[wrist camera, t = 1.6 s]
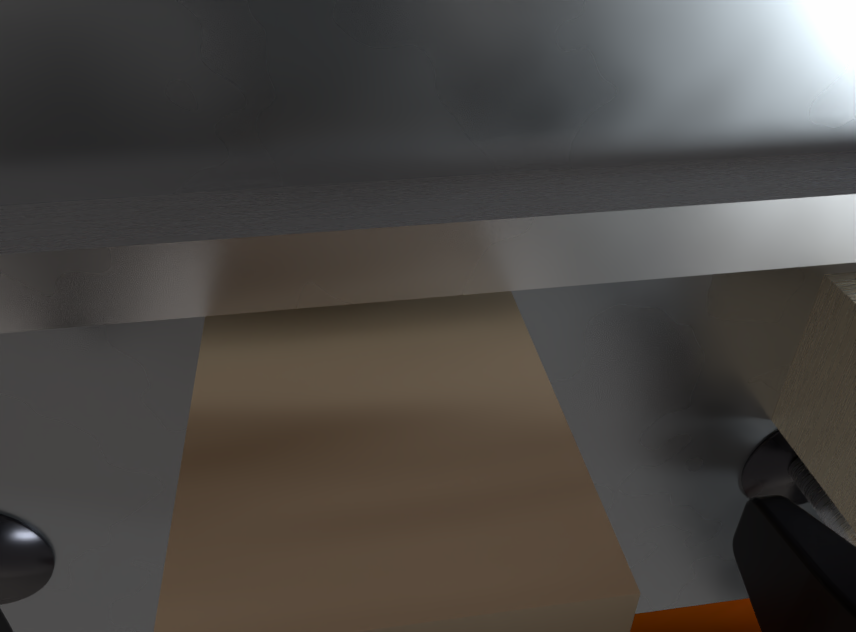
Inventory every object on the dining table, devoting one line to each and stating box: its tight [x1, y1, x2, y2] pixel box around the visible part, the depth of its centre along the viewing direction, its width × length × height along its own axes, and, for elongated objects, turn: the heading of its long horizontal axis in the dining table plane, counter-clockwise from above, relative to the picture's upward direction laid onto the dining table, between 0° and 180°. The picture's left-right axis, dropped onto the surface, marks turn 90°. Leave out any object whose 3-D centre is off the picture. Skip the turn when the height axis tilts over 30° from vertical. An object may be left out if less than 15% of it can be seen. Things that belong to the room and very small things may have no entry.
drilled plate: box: [0, 0, 856, 632], centre depth 11 cm, size 14×20×4 cm
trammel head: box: [154, 291, 640, 632], centre depth 10 cm, size 5×4×5 cm
